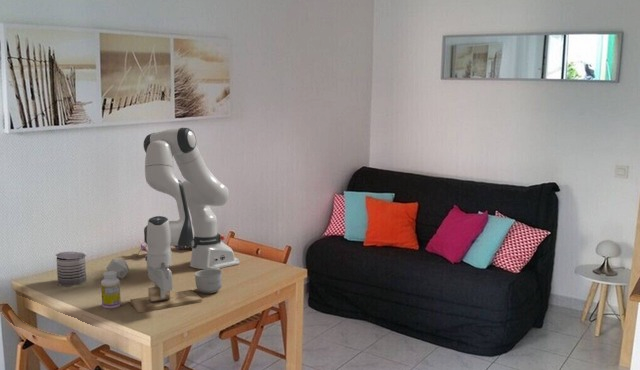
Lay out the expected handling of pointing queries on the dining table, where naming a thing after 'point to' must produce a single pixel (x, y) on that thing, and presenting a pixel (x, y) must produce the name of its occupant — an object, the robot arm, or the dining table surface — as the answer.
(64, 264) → the can
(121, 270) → the die
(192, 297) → the board
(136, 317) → the dining table surface
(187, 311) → the dining table surface
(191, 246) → the mineral specimen
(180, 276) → the dining table surface
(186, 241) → the robot arm
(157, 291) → the block
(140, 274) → the dining table surface
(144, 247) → the lily
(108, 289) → the supplement bottle
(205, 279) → the teacup
